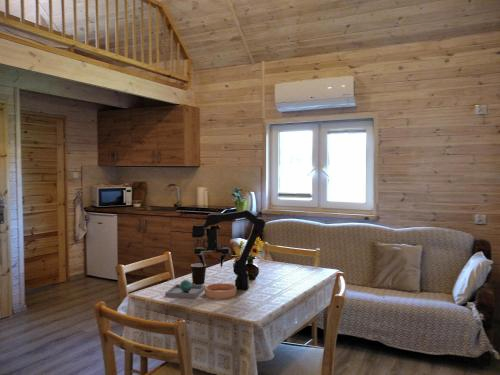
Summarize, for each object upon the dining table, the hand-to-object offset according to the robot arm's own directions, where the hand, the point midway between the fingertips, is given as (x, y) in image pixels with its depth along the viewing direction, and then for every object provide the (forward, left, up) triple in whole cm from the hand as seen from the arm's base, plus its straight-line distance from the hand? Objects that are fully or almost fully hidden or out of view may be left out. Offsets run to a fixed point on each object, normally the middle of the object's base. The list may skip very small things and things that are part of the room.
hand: (212, 267), depth 227 cm
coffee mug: (+11, -11, -12) cm, 20 cm away
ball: (+12, +10, -8) cm, 17 cm away
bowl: (-6, +9, -12) cm, 16 cm away
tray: (+12, +10, -12) cm, 19 cm away
